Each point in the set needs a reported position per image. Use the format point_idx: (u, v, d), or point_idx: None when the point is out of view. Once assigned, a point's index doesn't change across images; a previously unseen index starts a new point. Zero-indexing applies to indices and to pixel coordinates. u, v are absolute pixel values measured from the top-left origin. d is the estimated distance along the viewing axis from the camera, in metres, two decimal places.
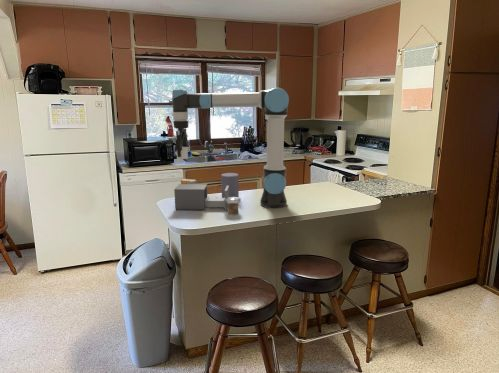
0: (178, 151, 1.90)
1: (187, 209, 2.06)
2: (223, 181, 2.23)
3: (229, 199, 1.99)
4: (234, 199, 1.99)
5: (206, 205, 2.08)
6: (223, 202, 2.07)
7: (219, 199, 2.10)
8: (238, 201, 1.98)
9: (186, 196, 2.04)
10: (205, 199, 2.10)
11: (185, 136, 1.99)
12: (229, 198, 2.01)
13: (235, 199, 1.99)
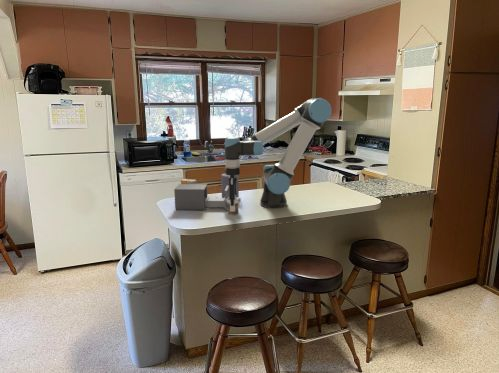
0: (231, 200, 1.95)
1: (187, 209, 2.06)
2: (223, 181, 2.23)
3: None
4: None
5: (206, 205, 2.08)
6: (223, 202, 2.07)
7: (219, 199, 2.10)
8: (238, 201, 1.98)
9: (186, 196, 2.04)
10: (205, 199, 2.10)
11: None
12: None
13: (235, 199, 1.99)
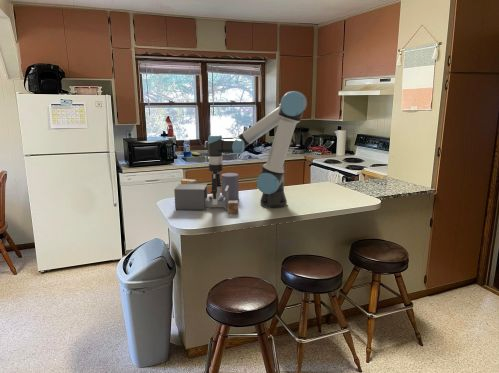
0: (214, 194, 2.01)
1: (187, 209, 2.06)
2: (223, 181, 2.23)
3: None
4: (217, 197, 2.09)
5: (206, 205, 2.08)
6: (223, 202, 2.07)
7: None
8: (221, 199, 2.07)
9: (186, 196, 2.04)
10: (205, 199, 2.10)
11: (219, 177, 2.10)
12: None
13: (218, 197, 2.09)
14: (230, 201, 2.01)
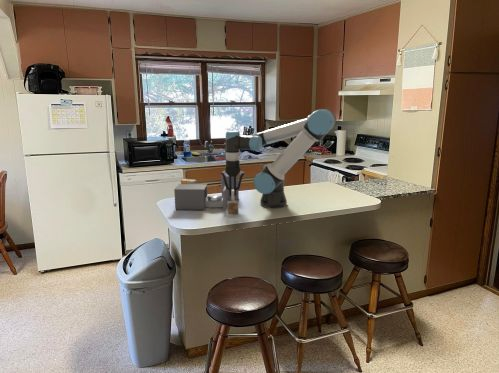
0: (229, 190, 2.09)
1: (187, 209, 2.06)
2: (223, 181, 2.23)
3: (211, 197, 2.08)
4: (215, 197, 2.09)
5: None
6: (221, 202, 2.07)
7: None
8: (219, 199, 2.07)
9: (186, 196, 2.04)
10: None
11: (233, 176, 2.05)
12: (211, 196, 2.11)
13: (216, 197, 2.09)
14: (230, 201, 2.01)
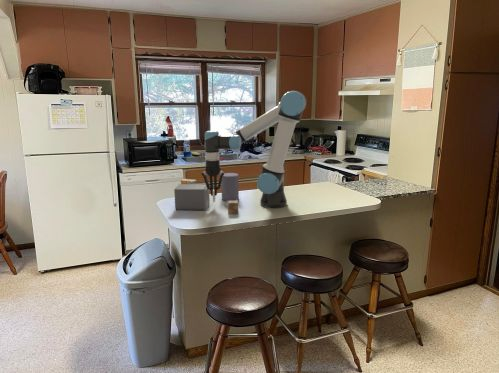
0: None
1: (187, 209, 2.06)
2: (223, 181, 2.23)
3: None
4: None
5: None
6: None
7: None
8: None
9: (186, 196, 2.04)
10: None
11: (213, 175, 2.06)
12: None
13: None
14: (230, 201, 2.01)
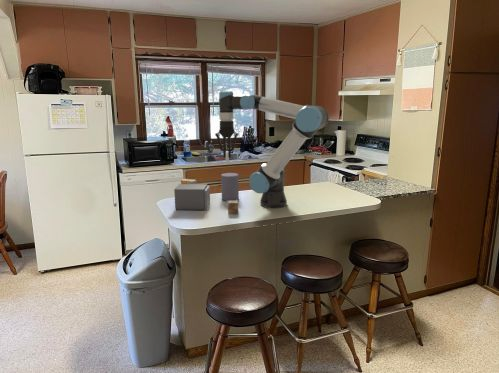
0: None
1: (187, 209, 2.06)
2: (223, 181, 2.23)
3: None
4: None
5: None
6: None
7: None
8: None
9: (186, 196, 2.04)
10: None
11: (227, 136, 2.05)
12: None
13: None
14: (230, 201, 2.01)
